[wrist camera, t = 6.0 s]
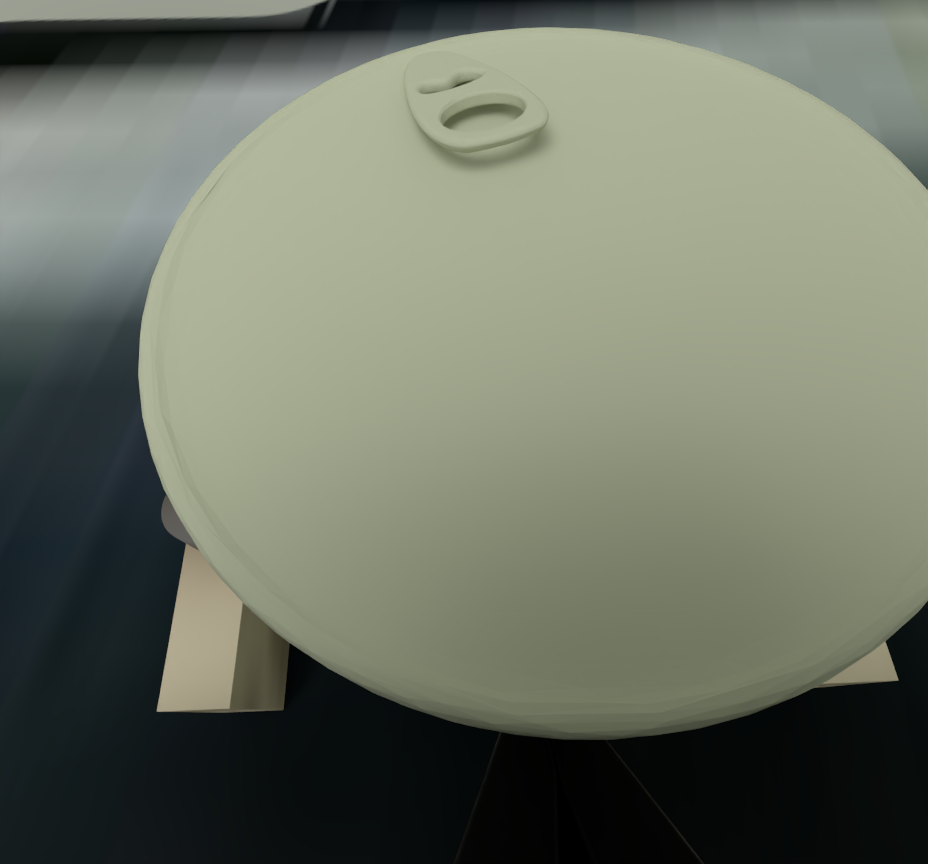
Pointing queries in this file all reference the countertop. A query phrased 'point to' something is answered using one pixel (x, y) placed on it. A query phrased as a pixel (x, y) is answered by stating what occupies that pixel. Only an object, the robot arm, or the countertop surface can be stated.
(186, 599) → the frame
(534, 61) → the can
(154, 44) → the countertop surface
